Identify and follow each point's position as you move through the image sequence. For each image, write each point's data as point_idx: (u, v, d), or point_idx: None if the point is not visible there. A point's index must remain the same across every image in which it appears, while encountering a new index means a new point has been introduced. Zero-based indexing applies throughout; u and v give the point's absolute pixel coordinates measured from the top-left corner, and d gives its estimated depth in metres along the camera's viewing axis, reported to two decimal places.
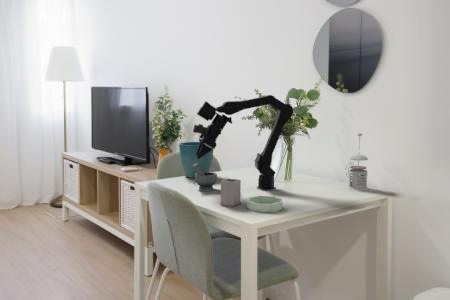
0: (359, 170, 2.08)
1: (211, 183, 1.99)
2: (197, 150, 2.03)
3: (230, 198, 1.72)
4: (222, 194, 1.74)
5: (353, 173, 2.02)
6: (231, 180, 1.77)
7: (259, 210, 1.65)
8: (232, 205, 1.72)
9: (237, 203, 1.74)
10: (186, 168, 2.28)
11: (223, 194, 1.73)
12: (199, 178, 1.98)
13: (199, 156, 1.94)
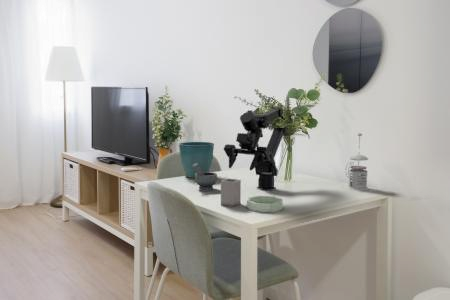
0: (359, 170, 2.08)
1: (211, 183, 1.99)
2: (230, 162, 1.83)
3: (230, 198, 1.72)
4: (222, 194, 1.74)
5: (353, 173, 2.02)
6: (231, 180, 1.77)
7: (259, 210, 1.65)
8: (232, 205, 1.72)
9: (237, 203, 1.74)
10: (186, 168, 2.28)
11: (223, 194, 1.73)
12: (199, 178, 1.98)
13: (252, 167, 1.79)
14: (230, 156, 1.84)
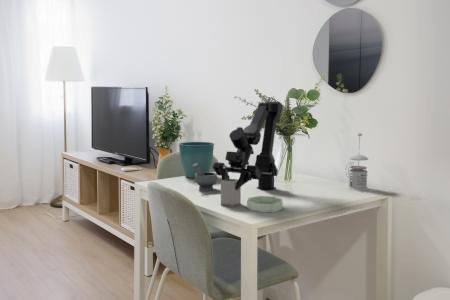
0: (359, 170, 2.08)
1: (211, 183, 1.99)
2: None
3: (230, 198, 1.72)
4: (222, 194, 1.74)
5: (353, 173, 2.02)
6: (231, 180, 1.77)
7: (259, 210, 1.65)
8: (232, 205, 1.72)
9: (237, 203, 1.74)
10: (186, 168, 2.28)
11: (223, 194, 1.73)
12: (199, 178, 1.98)
13: (238, 187, 1.72)
14: (223, 175, 1.77)
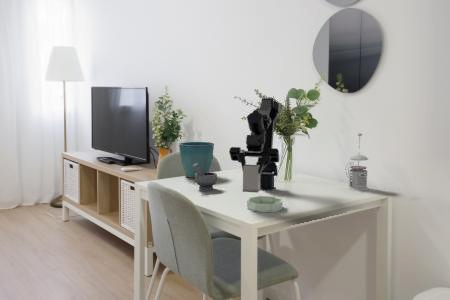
0: (359, 170, 2.08)
1: (211, 183, 1.99)
2: None
3: (253, 184, 1.68)
4: (244, 180, 1.69)
5: (353, 173, 2.02)
6: (250, 166, 1.73)
7: (259, 210, 1.65)
8: (256, 191, 1.68)
9: (259, 189, 1.71)
10: (186, 168, 2.28)
11: (245, 180, 1.69)
12: (199, 178, 1.98)
13: (261, 170, 1.69)
14: (242, 160, 1.72)
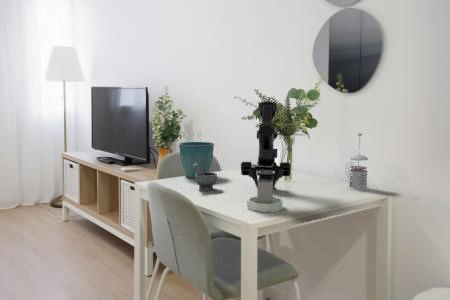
0: (359, 170, 2.08)
1: (211, 183, 1.99)
2: (257, 181, 1.69)
3: (268, 199, 1.67)
4: (259, 196, 1.68)
5: (353, 173, 2.02)
6: (263, 181, 1.72)
7: (259, 210, 1.65)
8: None
9: None
10: (186, 168, 2.28)
11: (260, 196, 1.68)
12: (199, 178, 1.98)
13: (274, 185, 1.69)
14: (255, 174, 1.71)
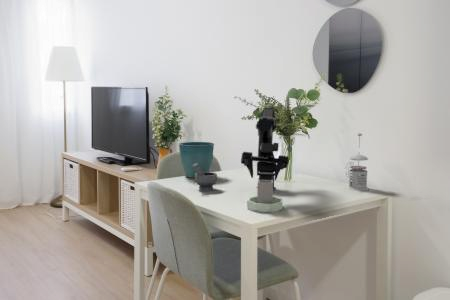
0: (359, 170, 2.08)
1: (211, 183, 1.99)
2: None
3: (268, 200, 1.67)
4: (259, 196, 1.68)
5: (353, 173, 2.02)
6: (263, 181, 1.72)
7: (259, 210, 1.65)
8: None
9: None
10: (186, 168, 2.28)
11: (260, 196, 1.68)
12: (199, 178, 1.98)
13: (276, 177, 1.80)
14: (251, 165, 1.80)
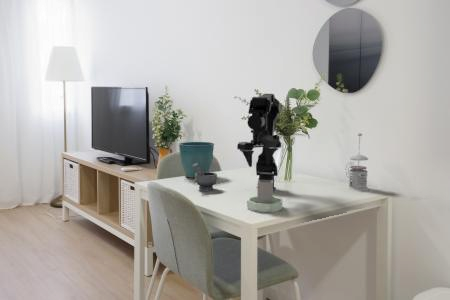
0: (359, 170, 2.08)
1: (211, 183, 1.99)
2: None
3: (268, 200, 1.67)
4: (259, 196, 1.68)
5: (353, 173, 2.02)
6: (263, 181, 1.72)
7: (259, 210, 1.65)
8: None
9: None
10: (186, 168, 2.28)
11: (260, 196, 1.68)
12: (199, 178, 1.98)
13: None
14: (250, 156, 1.82)
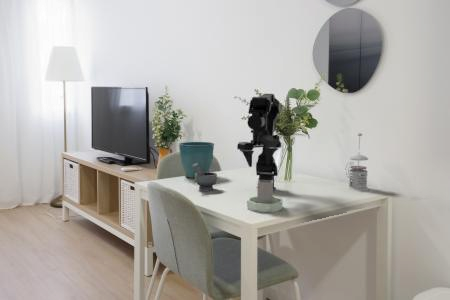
0: (359, 170, 2.08)
1: (211, 183, 1.99)
2: None
3: (268, 200, 1.67)
4: (259, 196, 1.68)
5: (353, 173, 2.02)
6: (263, 181, 1.72)
7: (259, 210, 1.65)
8: None
9: None
10: (186, 168, 2.28)
11: (260, 196, 1.68)
12: (199, 178, 1.98)
13: None
14: (250, 156, 1.82)
